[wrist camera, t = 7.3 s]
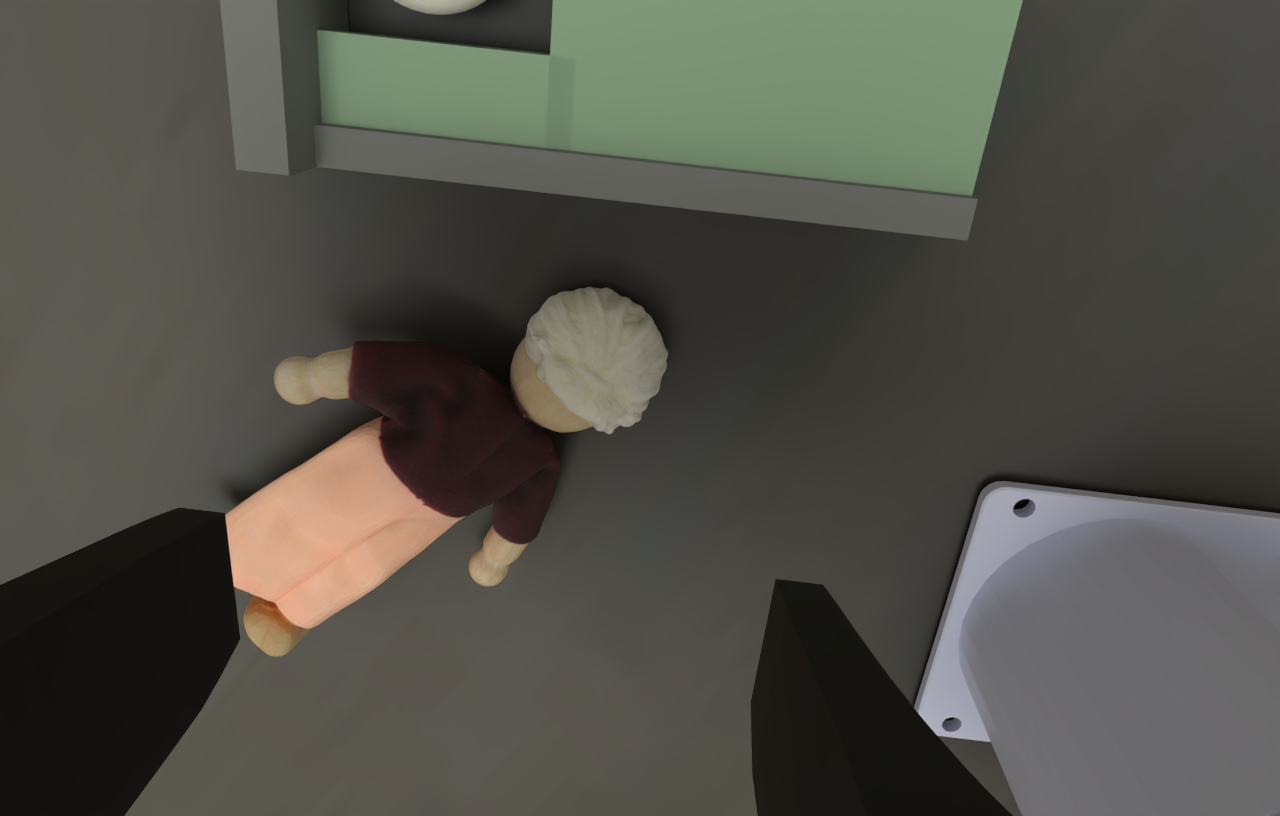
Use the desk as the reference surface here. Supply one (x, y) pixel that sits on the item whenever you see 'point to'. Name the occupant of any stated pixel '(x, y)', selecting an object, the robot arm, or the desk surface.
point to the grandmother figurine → (433, 456)
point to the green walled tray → (646, 104)
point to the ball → (440, 6)
